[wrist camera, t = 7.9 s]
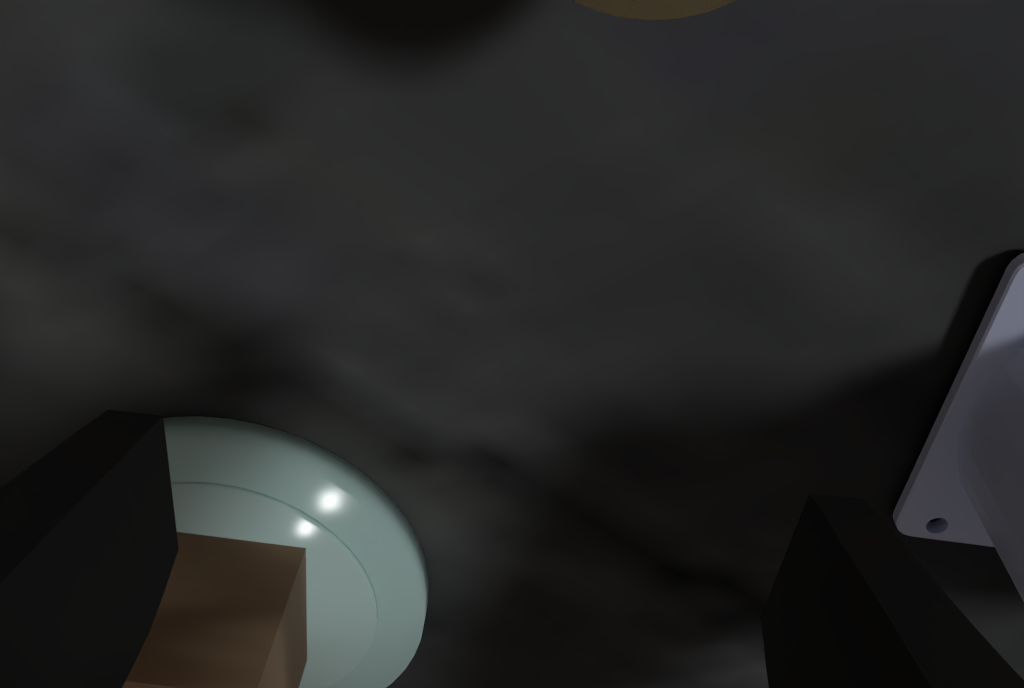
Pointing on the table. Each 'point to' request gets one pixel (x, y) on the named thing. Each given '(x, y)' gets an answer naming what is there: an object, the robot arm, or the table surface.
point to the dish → (310, 539)
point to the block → (228, 618)
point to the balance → (653, 8)
